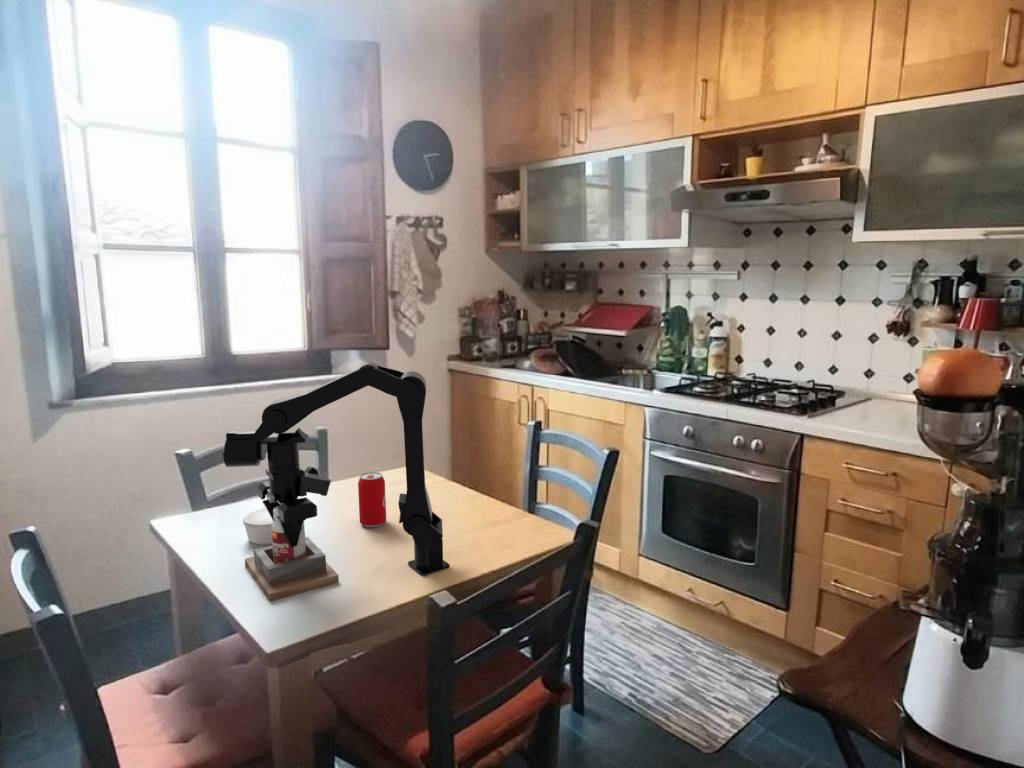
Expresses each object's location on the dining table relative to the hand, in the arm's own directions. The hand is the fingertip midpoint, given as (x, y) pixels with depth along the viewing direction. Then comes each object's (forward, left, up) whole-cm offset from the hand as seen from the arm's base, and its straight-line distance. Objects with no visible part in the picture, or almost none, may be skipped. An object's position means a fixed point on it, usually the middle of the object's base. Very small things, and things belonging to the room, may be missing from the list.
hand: (289, 540), depth 128 cm
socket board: (0, 0, -7) cm, 7 cm away
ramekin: (+21, -2, -7) cm, 22 cm away
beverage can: (+15, -24, -7) cm, 29 cm away
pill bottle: (0, 0, -5) cm, 5 cm away
